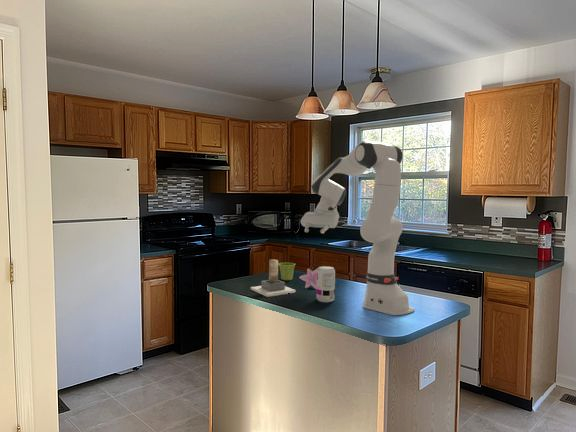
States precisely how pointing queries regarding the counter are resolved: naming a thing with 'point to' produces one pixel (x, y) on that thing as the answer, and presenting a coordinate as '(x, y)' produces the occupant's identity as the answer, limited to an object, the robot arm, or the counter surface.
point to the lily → (310, 278)
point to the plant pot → (287, 270)
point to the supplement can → (325, 284)
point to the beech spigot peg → (273, 271)
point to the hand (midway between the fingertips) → (313, 232)
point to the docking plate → (272, 288)
